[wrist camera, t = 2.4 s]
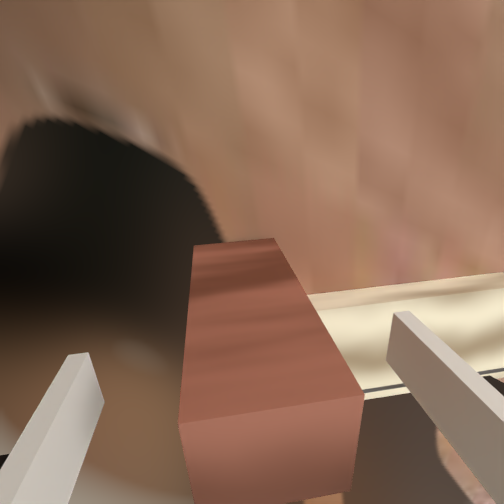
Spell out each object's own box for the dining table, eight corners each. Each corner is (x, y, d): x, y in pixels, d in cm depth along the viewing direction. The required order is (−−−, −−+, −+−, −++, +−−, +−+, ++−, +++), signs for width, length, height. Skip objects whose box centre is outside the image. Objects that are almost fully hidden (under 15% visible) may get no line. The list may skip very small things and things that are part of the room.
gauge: (193, 245, 19) (177, 424, 8) (273, 238, 19) (364, 394, 8) (215, 410, 24) (224, 644, 13) (276, 400, 25) (331, 618, 14)
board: (194, 308, 21) (193, 327, 19) (577, 263, 24) (609, 275, 22) (208, 401, 24) (208, 425, 22) (538, 351, 28) (563, 369, 26)
